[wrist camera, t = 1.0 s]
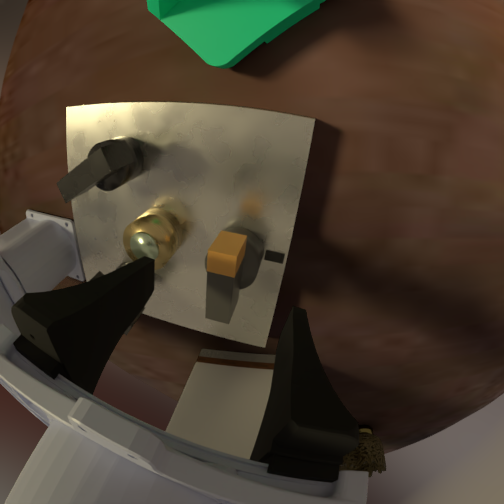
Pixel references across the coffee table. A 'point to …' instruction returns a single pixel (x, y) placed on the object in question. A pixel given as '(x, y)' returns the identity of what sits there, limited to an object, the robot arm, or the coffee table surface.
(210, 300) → the tan-ended square prism
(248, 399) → the white dispenser tower
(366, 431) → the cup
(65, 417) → the robot arm
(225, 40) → the camera mount
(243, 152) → the base
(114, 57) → the coffee table surface
